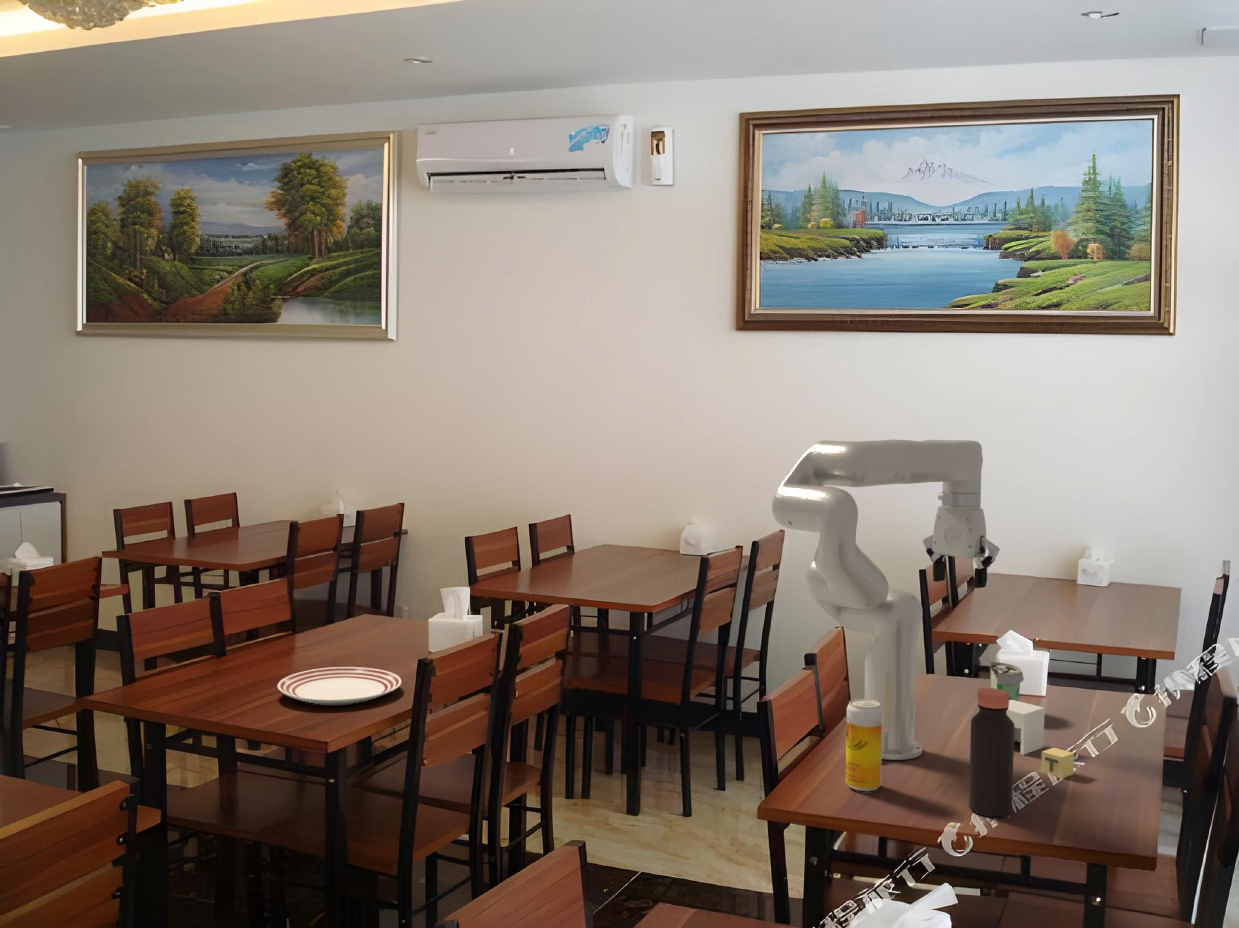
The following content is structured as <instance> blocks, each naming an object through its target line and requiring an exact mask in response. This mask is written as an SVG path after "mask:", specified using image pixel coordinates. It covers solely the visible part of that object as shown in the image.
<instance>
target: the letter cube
mask: <svg viewBox="0 0 1239 928" xmlns="http://www.w3.org/2000/svg"><path fill="white" fill-rule="evenodd" d="M1040 760H1041V761H1040V762H1041V765H1040V766H1041V767H1040V769H1041V770H1040V773H1041V772H1045V773H1046V774H1045V775H1047V774H1050V775H1053V776H1052V777H1054V776H1055V777H1054V778H1057V777H1058V779H1060V780H1061V779H1065V778H1067V777H1069V776H1072V775H1074V771H1075V770H1074V764H1075V752H1073V751H1072V752H1071V751H1067V750H1065V749H1061V748H1056V747H1052V748H1049V749H1046V750H1043V751H1041V759H1040ZM1050 775H1049V776H1050Z"/></svg>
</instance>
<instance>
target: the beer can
mask: <svg viewBox="0 0 1239 928" xmlns="http://www.w3.org/2000/svg"><path fill="white" fill-rule="evenodd" d="M845 729H846V730H845V731H846V732H845V733H846V735H845V784H846V785H847V786H849V787H850V788H853V789H856V790H860V791H873V790H876V789H877V788H878V789H879V787H880V786H881V785H882V759H881V757H882V708H881V706H880V703H879V702H877V701H874V700H869V699H864V698H855V699H851V700H849V701H848V704H847V707H846V727H845ZM849 787H848V788H849ZM850 788H849V789H850ZM878 789H877V790H878ZM877 790H876V791H877Z"/></svg>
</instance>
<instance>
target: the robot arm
mask: <svg viewBox="0 0 1239 928" xmlns="http://www.w3.org/2000/svg"><path fill="white" fill-rule="evenodd" d="M983 462H984V457H983V448H982V444H981V443H980V442H979V441H976V440H969V439H968V440H966V439H957V440H956V439H955V440H954V439H953V440H950V439H924V440H921V441H920V440H910V439H882V440H859V441H852V440H851V441H849V440H847V441H846V440H845V441H844V440H828V439H827V440H825V439H823V440H820V441H817V442H816V443H814V444H813V445H812V446H810V447H809V448H808V449H807V450H806V451H805V452H804V453H803V454H802V455H801V457H800V458H799V459H798V460H797V462H796V463H795V464H794V466H793V467H792V468H791V470H790V471H789V473H788V474H787V475H786V477H785V478H784V479H783V480H782V482H781V483H780V484H779V486H778V488H777V489H776V491H775V492H774V494H773V495H774V496H773V500H772V504H771V505H772V506H771V509H772V515H773V518H774V519H775V521H776V522H777V523H778V524H779V525H780V526H782V527H784V528H787V529H790V530H796V531H797V530H798V531H804V532H805V531H806V532H810V533H811V532H813V533H819V539H818V545H817V548H816V550H815V553H814V558H813V560H812V561H811V562H810V564H809V566H808V568H807V569H806V575H805V583H806V584H805V585H806V589H807V591H808V593H809V596H810V597H811V599H812V600H813V601H814V603H816V604H817V605H818V606H819V607H820V608H821V609H823V611H824V612H826V613H827V614H828V615H829V616H830V617H831V618H832V619H833V620H834V621H835V622H836V623H837V624H839V625H840V626H842V627H843V628H845V629H848V630H851V631H855V632H860V633H864V634H869V635H872V636H874V637H875V639H874V641H873V643H872V644H871V645H870V647H869V649H868V650H867V652H866V655H865V661H864V692H863V693H864V696H863V697H864V698H863V699H869V700H874V701H877V702H879V703H880V706H881V708H882V757H881V760H889V761H890V760H891V761H901V760H902V761H904V760H911V759H916V758H919V757H920V756H921V755H922V754H923V746H922V744H921V743H919V742H918V741H916V740H915V713H916V673H917V672H916V670H917V669H916V668H917V667H916V664H917V663H916V662H917V650H918V648H917V647H918V641H919V635H920V632H921V626H922V622H923V613H924V612H923V606H922V603H921V602H920V600H919V599H918V598H917V597H916V596H915V595H914V594H913V593H911V592H909V591H906V590H904V589H900V588H896V587H895V588H894V587H889V583H888V582H889V581H888V580H887V578H886V575H885V574H884V572H883V571H882V570H881V569H880V567H878V566H877V565H876V564H875V563H874V562H873V561H872V560H871V558H869V557H868V555H866V554H865V552H863V551H862V549H860V547H859V546H858V544H857V540H856V537H857V527H858V521H859V519H858V518H859V511H858V510H859V509H858V505H857V503H856V500H855V499H854V496H853V495H851V493H849V492H848V491H847V490H845V489H842V488H838V487H845V488H846V487H849V488H863V487H864V488H865V487H866V488H867V487H872V486H873V487H875V486H887V485H909V484H910V485H911V484H922V483H924V484H925V483H938V482H939V483H942V491H941V493H938V495H937V499H938V500H939V501H941V506H938V507H937V510H936V515H935V519H934V526H933V532H932V533H933V534H932V535H929V536H927V537H926V538H923V540H922V543H923V546H924V548H925V550H926V551H925V552H926V554H927V555H928V556H929V558H930V561H931V563H932V577H933V579H932V580H933V582H937V583H938V582H943V581H945V579H946V561H945V560H944V559H945V558H946V557H952V558H960V559H961V558H963V559H972V561H973V562H974V564H975V565H976V568H974V574H973V575H974V576H973V577H974V579H973V580H974V581H973V587H974V588H975V589H982V588H986V586H987V582H988V568H990V567H991V565H992V564H993V563H994V562H995V561H996V558H997V556H998V554H999V552H1000V549H1001V548H1000V547H999V546H997V545H995V543H993V542H992V541H990V540H989V539H988V538H987V526H986V518H985V512H984V508H981V505H982V504H981V502H982V500H981V498H982V467H983V464H984V463H983ZM825 485H826V486H825ZM834 486H835V487H834ZM836 486H837V487H836ZM987 551H988V554H987V556H986V553H987Z"/></svg>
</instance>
